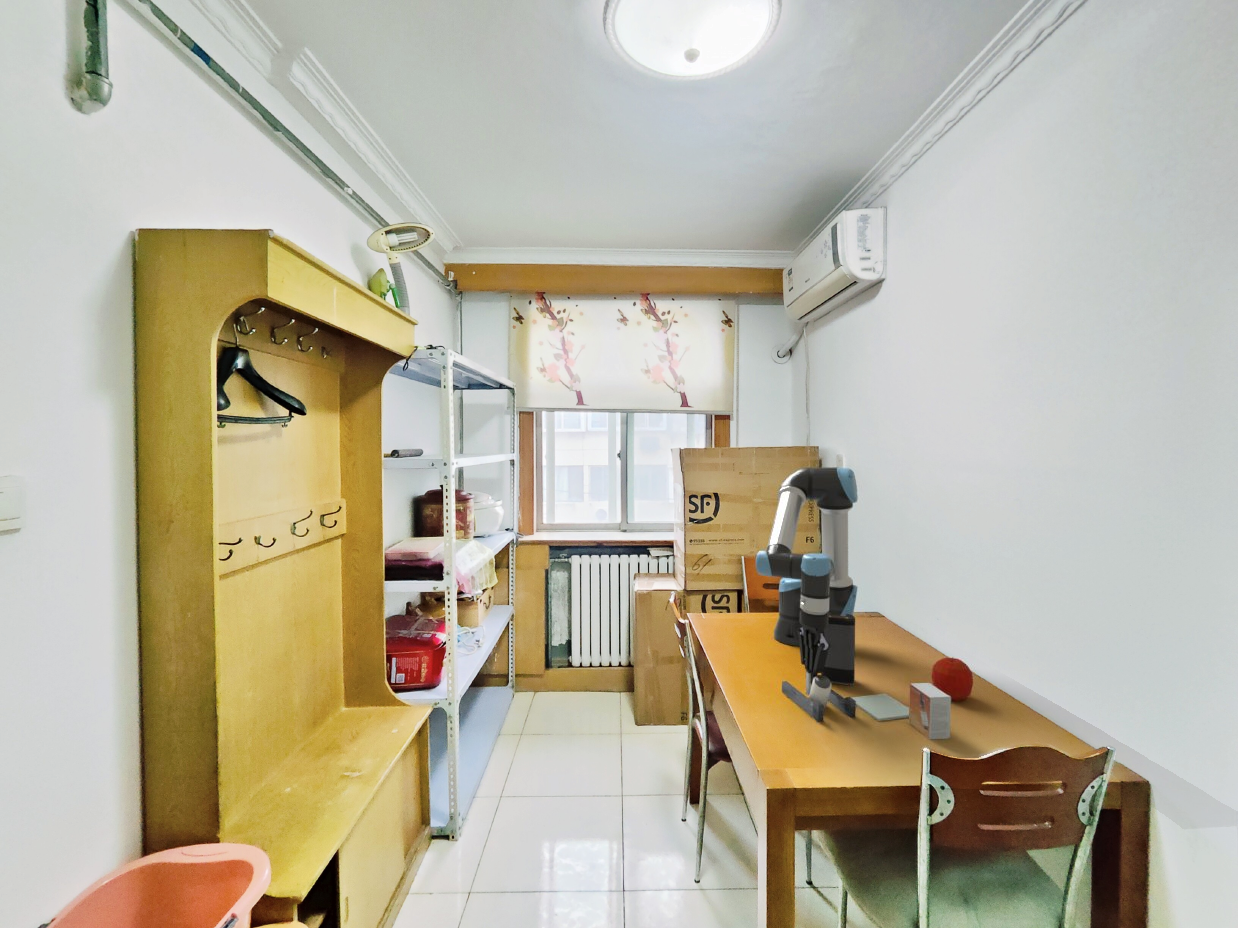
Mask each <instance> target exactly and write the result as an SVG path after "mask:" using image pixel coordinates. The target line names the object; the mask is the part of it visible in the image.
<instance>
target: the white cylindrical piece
mask: <svg viewBox="0 0 1238 928" xmlns="http://www.w3.org/2000/svg"><path fill="white" fill-rule="evenodd" d="M832 684H833V683H831V682H830V680H829V678H827V677H826V676H823V675H821V674H818V675H817V676H816V677H814V678H813V682H812V686H811V690H810V694H809V695H808V698H809V699H810V700H811V701H819V702H821V703H822V704H823V705H824V710H825V709H826V708H827V705H828V703H829V702H828V698H829V694H830V690H831V689H832Z"/></svg>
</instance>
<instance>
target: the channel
mask: <svg viewBox="0 0 1238 928" xmlns="http://www.w3.org/2000/svg"><path fill="white" fill-rule="evenodd" d="M781 692H782V693H783V694H784V695H785V696H786V697H788V698H789V699H790V700H791V701H792V702H793V703H795V704H796V705H797V706H798V707H800V709H802V710H803V711H804V712H805V713H806V714H808V715H809V716H810V717H811V718H812V719H814V720H815V721H816V722H817V723H823V722H824V720H825V719H824V717H825V715H824V713H825V712H824V710H825V709H824V705H823V704H822V703H821V702H819V701H811V700H810V699H809V697H807V696H806V695H805V694H804V693H803V692H801V691H800V690H799V689H798V688H796V687H795V686H794V685H792V684H791V683H789V682H788V681H787V680H782V681H781ZM852 698H853V697H851V696H847V697H843V696H842V695H841V694H839V693H838V692H836V691H835V690H834V689H832V688H831V690H830V694H829V698H828V702H827V703H829V704H831V705H832V706H833V707H835V708H836V709H838V710H839V711H840V712H842V713H843V714H844V715H846V716H847V717H848V718H850V719H854V718H857V716H856V713H857V712H856V711H857V710H856V709H857V708H856V707H857V706H856V701H855V700H854V699H852Z"/></svg>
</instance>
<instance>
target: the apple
mask: <svg viewBox="0 0 1238 928" xmlns="http://www.w3.org/2000/svg"><path fill="white" fill-rule="evenodd" d="M973 677H974V676H973V671H972V670H971V669H970V667H969V666H968V665H967V664H966V663H965V662H964V661H962V660H961V659H959V658H956V657H955V658H954V657H943V658H941V659H938V660H937V661H936V662H935V663H934V664H933V665H932V671H931V679H932V680H931V681H932V685H933V686H935V687H936V688H938V689H939V690H941V691H942V692H944V693H945V694H947V695H949V696H950V697H951V701H958V702H959V701H962V700H964V699H966V698H968V697H970V696H971V694H972V693H971V692H972V690H973V686H974V678H973Z"/></svg>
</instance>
